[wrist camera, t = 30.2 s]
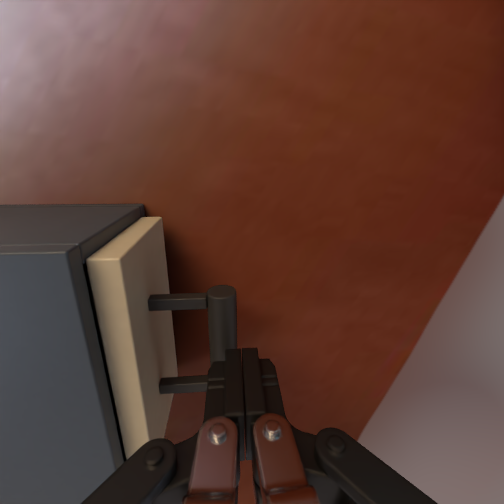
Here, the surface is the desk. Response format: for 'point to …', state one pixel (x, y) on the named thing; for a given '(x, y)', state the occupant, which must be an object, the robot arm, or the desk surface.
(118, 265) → the drawer
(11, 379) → the cabinet
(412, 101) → the desk surface
